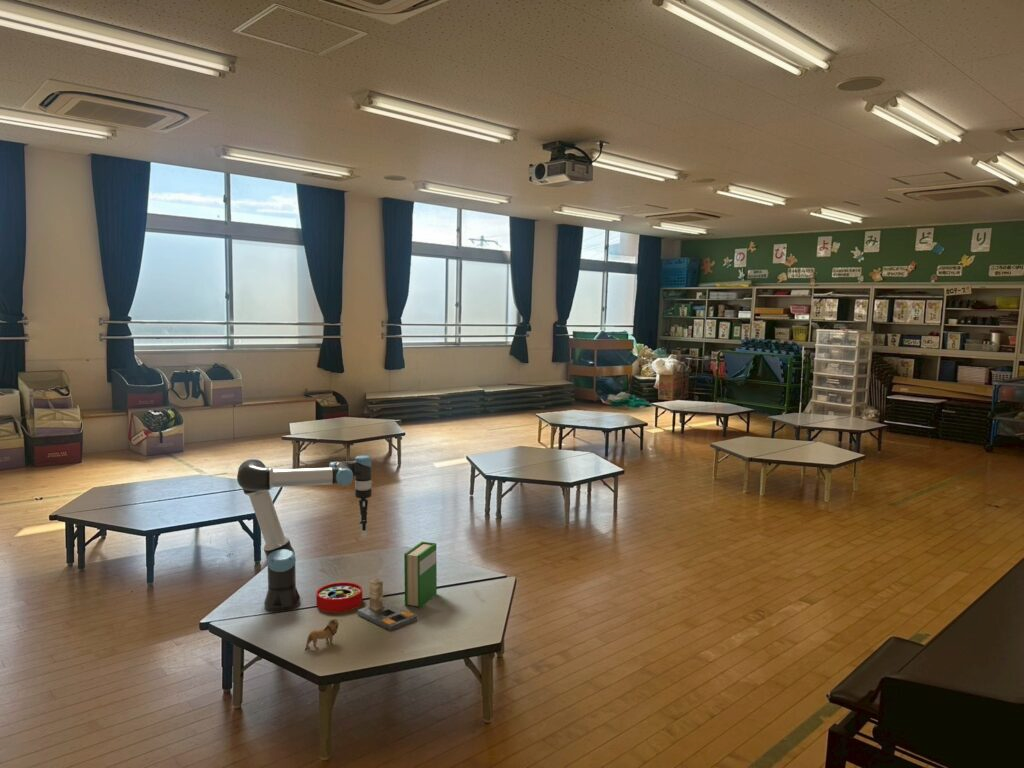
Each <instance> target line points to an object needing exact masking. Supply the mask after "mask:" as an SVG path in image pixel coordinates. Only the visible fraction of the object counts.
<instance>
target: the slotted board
mask: <svg viewBox="0 0 1024 768" xmlns="http://www.w3.org/2000/svg"><path fill="white" fill-rule="evenodd" d="M356 614H357V615H358V616H359V617H362V618H363V619H366V620H368V621H370V622H371V623H374V624H376V625H377V626H380V627H381V628H383V629H386V630H387V631H390V632H391V631H394V630H396V629H399V628H401V627H404V626H407V625H409V624H412V623H414V622H417V621H418V615H416V614H414V613H412V612H410V611H408V610H405V609H403V608H402V607H399V606H397V605H395V604H392V603H390V602H389V601H386V600H383V609H381V610H378V611H376V612H375V611H373V610H371V609H370V605H368V606H365V607H362V608H360V609H357V613H356ZM386 615H387V616H386ZM397 620H399V621H397Z"/></svg>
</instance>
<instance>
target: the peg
mask: <svg viewBox="0 0 1024 768" xmlns="http://www.w3.org/2000/svg"><path fill="white" fill-rule="evenodd" d="M383 583H384V581H383V580H381V579H379V578H374V579H372V580H369V606H370V609H371V610H373V611H375V612H376V611H378V610H381V609H383V601H384V589H383V588H384V585H383Z"/></svg>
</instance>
